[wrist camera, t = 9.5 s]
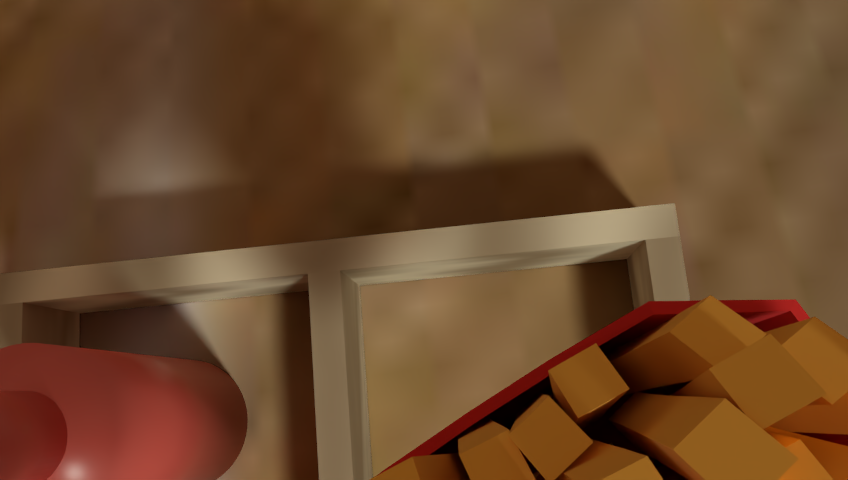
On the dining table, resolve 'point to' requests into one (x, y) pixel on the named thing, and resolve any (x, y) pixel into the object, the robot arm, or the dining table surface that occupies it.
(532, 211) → the dining table surface
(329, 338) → the caddy
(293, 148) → the dining table surface
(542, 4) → the dining table surface
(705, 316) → the french fries
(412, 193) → the dining table surface
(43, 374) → the ketchup bottle
